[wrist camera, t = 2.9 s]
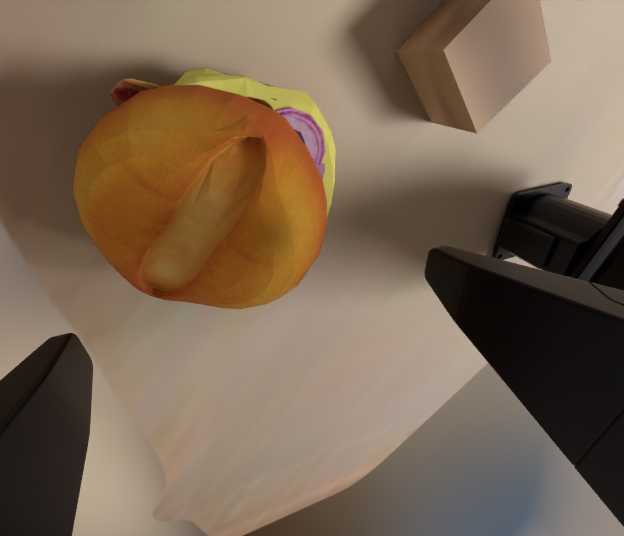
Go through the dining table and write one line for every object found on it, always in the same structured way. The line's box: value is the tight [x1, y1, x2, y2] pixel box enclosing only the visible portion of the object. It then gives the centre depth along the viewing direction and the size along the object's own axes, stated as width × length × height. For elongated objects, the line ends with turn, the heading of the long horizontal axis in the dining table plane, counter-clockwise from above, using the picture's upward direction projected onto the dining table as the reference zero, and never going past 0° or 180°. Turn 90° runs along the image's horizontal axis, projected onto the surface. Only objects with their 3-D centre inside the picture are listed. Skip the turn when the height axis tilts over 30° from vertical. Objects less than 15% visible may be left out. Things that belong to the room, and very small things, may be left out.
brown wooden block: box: [396, 0, 551, 133], centre depth 17 cm, size 5×5×4 cm
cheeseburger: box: [73, 68, 336, 309], centre depth 15 cm, size 10×11×10 cm
